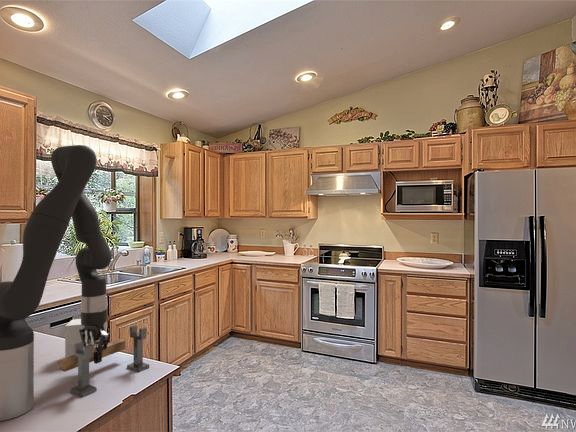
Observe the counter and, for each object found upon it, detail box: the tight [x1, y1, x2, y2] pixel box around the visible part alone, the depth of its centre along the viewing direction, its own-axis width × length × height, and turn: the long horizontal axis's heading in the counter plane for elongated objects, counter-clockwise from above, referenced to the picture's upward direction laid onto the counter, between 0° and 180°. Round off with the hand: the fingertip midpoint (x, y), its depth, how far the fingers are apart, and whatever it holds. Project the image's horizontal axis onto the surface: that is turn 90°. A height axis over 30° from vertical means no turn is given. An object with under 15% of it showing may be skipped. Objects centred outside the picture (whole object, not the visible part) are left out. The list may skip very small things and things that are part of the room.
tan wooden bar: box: [58, 338, 127, 373], centre depth 112 cm, size 20×3×3 cm, turn 150°
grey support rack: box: [70, 324, 150, 398], centre depth 107 cm, size 22×6×14 cm, turn 151°
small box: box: [64, 318, 85, 358], centre depth 123 cm, size 8×6×13 cm
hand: (94, 361), depth 112 cm, fingers closed on tan wooden bar, 3 cm apart
